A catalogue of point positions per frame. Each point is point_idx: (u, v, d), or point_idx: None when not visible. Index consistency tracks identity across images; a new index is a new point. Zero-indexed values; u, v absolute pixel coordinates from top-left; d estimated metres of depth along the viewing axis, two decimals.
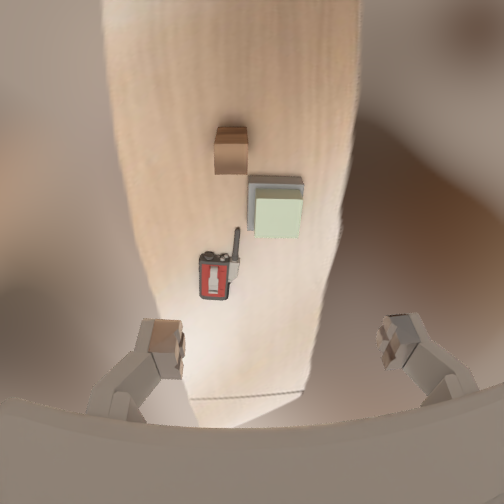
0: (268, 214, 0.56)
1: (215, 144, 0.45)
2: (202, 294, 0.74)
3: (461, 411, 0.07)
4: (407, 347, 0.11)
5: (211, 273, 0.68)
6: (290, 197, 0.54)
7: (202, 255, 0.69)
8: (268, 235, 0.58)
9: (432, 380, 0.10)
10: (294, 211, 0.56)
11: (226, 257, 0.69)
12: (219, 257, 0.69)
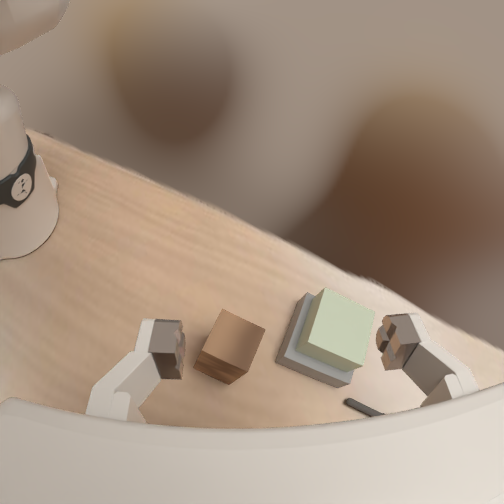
0: (334, 336, 0.37)
1: (203, 349, 0.30)
2: None
3: (461, 411, 0.07)
4: (407, 347, 0.11)
5: None
6: (319, 302, 0.40)
7: None
8: (363, 346, 0.37)
9: (432, 380, 0.10)
10: (338, 302, 0.40)
11: None
12: None
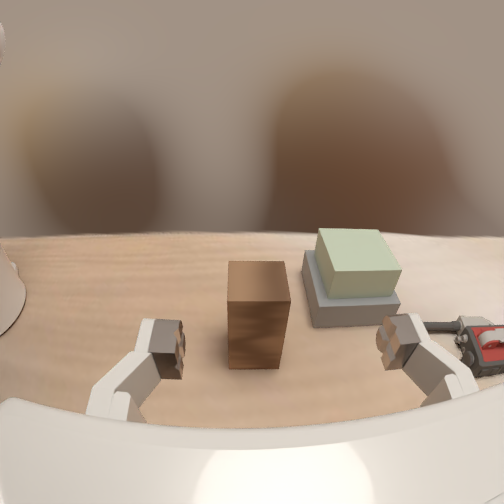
0: (356, 258, 0.34)
1: None
2: None
3: (461, 411, 0.07)
4: (407, 347, 0.11)
5: (491, 338, 0.28)
6: (322, 241, 0.37)
7: None
8: (389, 255, 0.34)
9: (432, 380, 0.10)
10: (340, 234, 0.38)
11: (460, 337, 0.33)
12: (464, 346, 0.31)
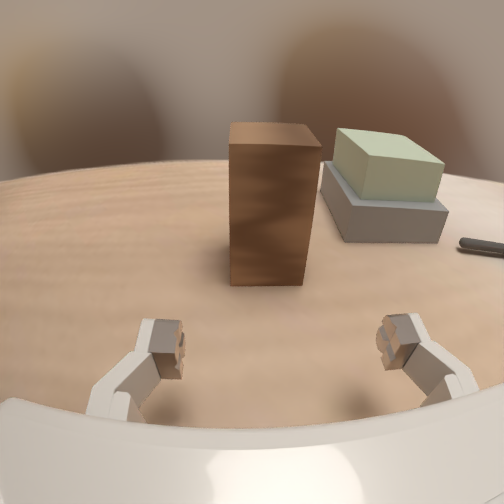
0: (390, 149, 0.25)
1: None
2: None
3: (461, 411, 0.07)
4: (407, 347, 0.11)
5: None
6: (343, 138, 0.28)
7: None
8: (425, 152, 0.26)
9: (432, 380, 0.10)
10: (363, 133, 0.29)
11: None
12: None
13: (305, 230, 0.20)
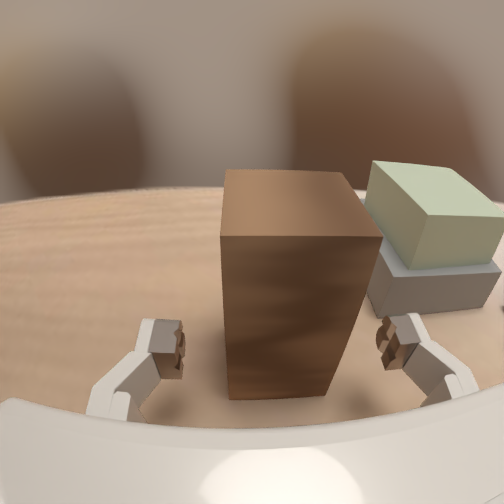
0: (446, 198, 0.18)
1: None
2: None
3: (461, 411, 0.07)
4: (407, 347, 0.11)
5: None
6: (383, 178, 0.21)
7: None
8: (484, 198, 0.18)
9: (432, 380, 0.10)
10: (406, 168, 0.21)
11: None
12: None
13: (338, 345, 0.13)
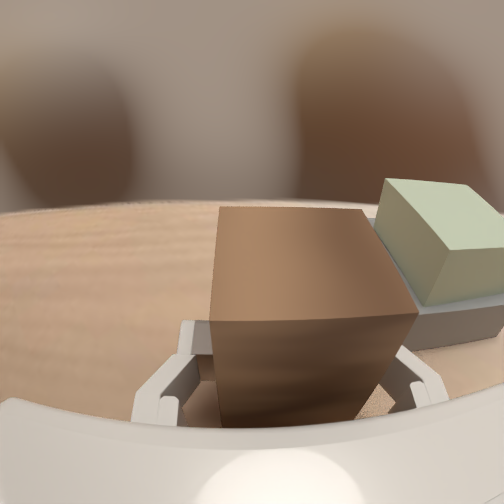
0: (467, 226, 0.15)
1: (215, 316, 0.07)
2: None
3: (461, 411, 0.07)
4: None
5: None
6: (397, 199, 0.18)
7: None
8: None
9: (400, 386, 0.10)
10: (422, 188, 0.19)
11: None
12: None
13: (350, 412, 0.10)
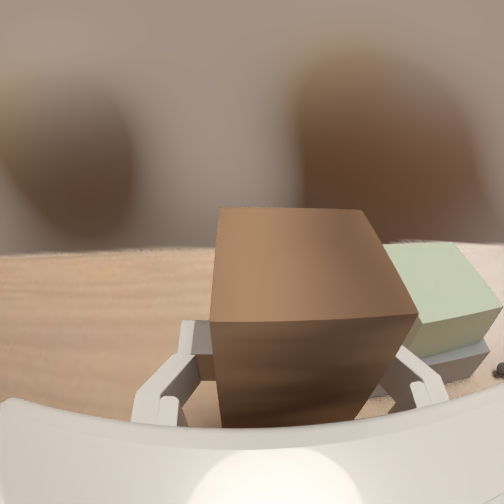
0: (444, 294, 0.19)
1: (215, 317, 0.07)
2: None
3: (461, 411, 0.07)
4: None
5: None
6: None
7: None
8: (481, 284, 0.19)
9: (400, 386, 0.10)
10: (408, 253, 0.22)
11: None
12: None
13: (350, 412, 0.10)
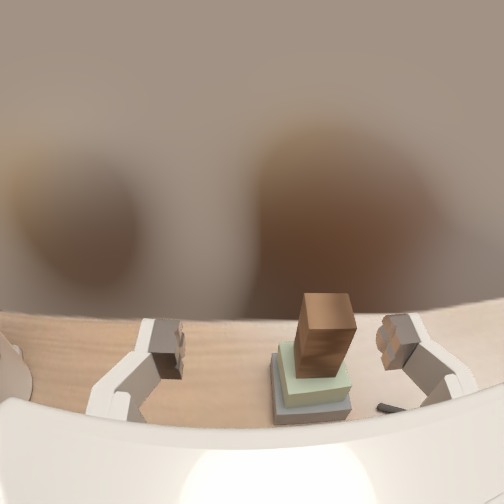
0: None
1: (309, 328, 0.31)
2: None
3: (461, 411, 0.07)
4: (407, 347, 0.11)
5: None
6: (281, 357, 0.40)
7: None
8: (342, 370, 0.38)
9: (432, 380, 0.10)
10: None
11: None
12: None
13: (341, 357, 0.34)
